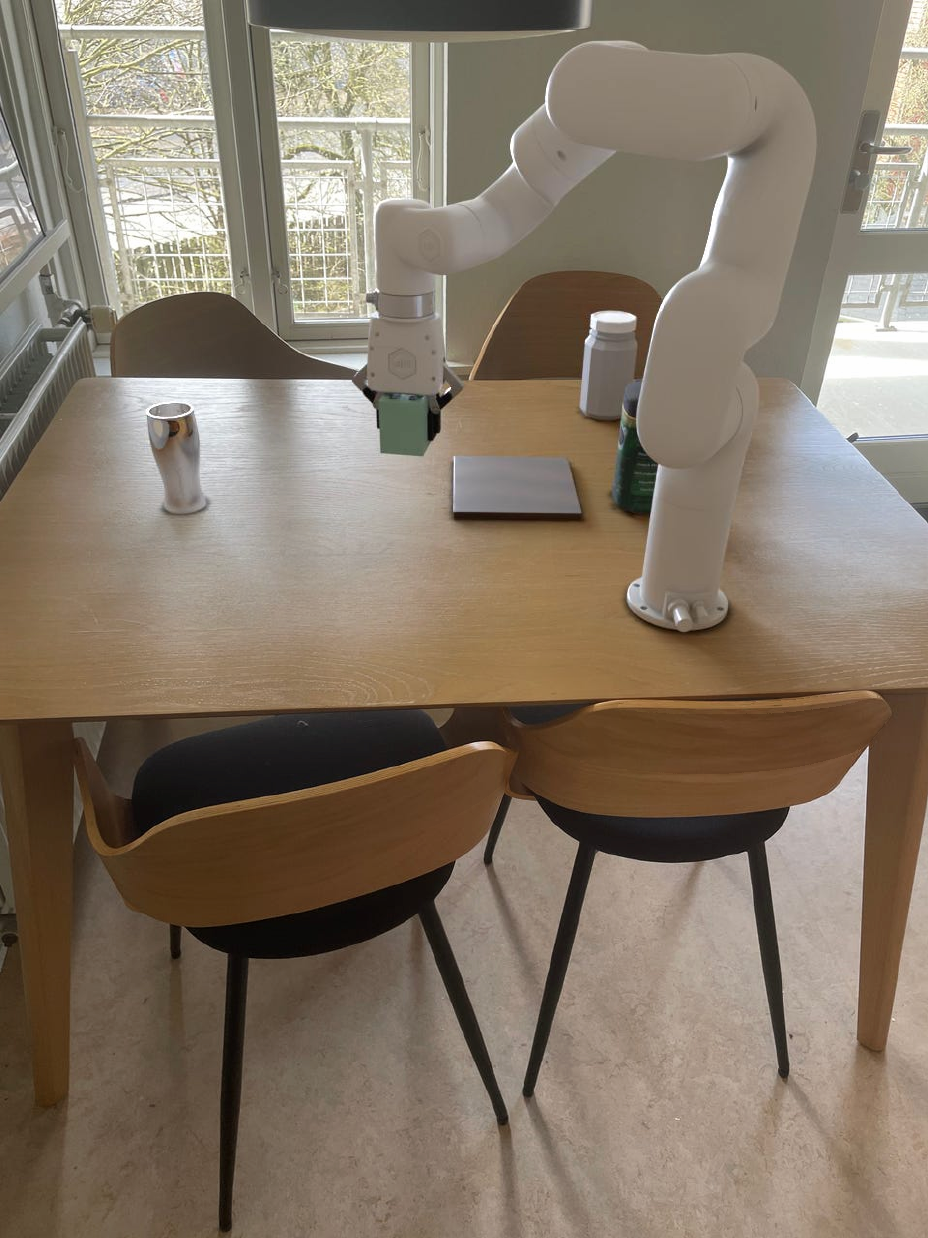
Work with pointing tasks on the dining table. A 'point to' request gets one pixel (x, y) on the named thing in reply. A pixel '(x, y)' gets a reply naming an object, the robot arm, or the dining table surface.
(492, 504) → the board
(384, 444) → the toaster
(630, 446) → the coffee jar
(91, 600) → the dining table surface
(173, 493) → the beer glass
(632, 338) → the jar
